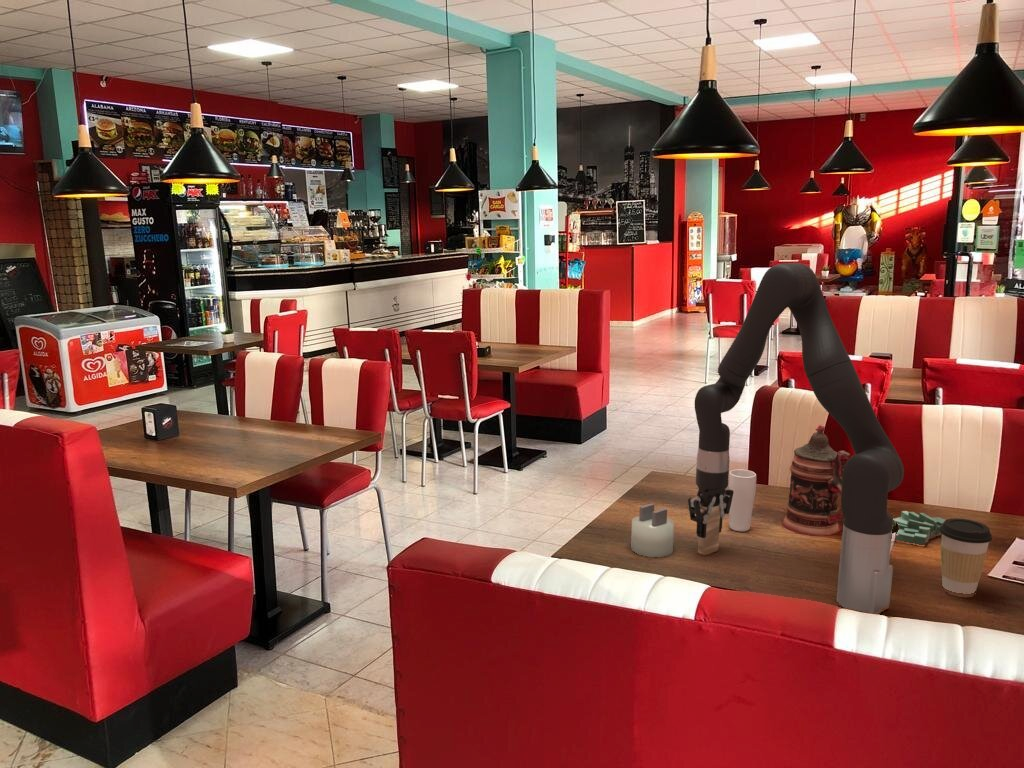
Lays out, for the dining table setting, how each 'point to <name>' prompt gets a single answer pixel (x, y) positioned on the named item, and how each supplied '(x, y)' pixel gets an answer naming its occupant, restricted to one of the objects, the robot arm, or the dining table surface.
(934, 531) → the money
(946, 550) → the coffee cup
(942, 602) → the dining table surface
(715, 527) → the brown wooden block
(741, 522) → the drinking glass
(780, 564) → the dining table surface
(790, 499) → the beer stein
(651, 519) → the cream plug cylinder
